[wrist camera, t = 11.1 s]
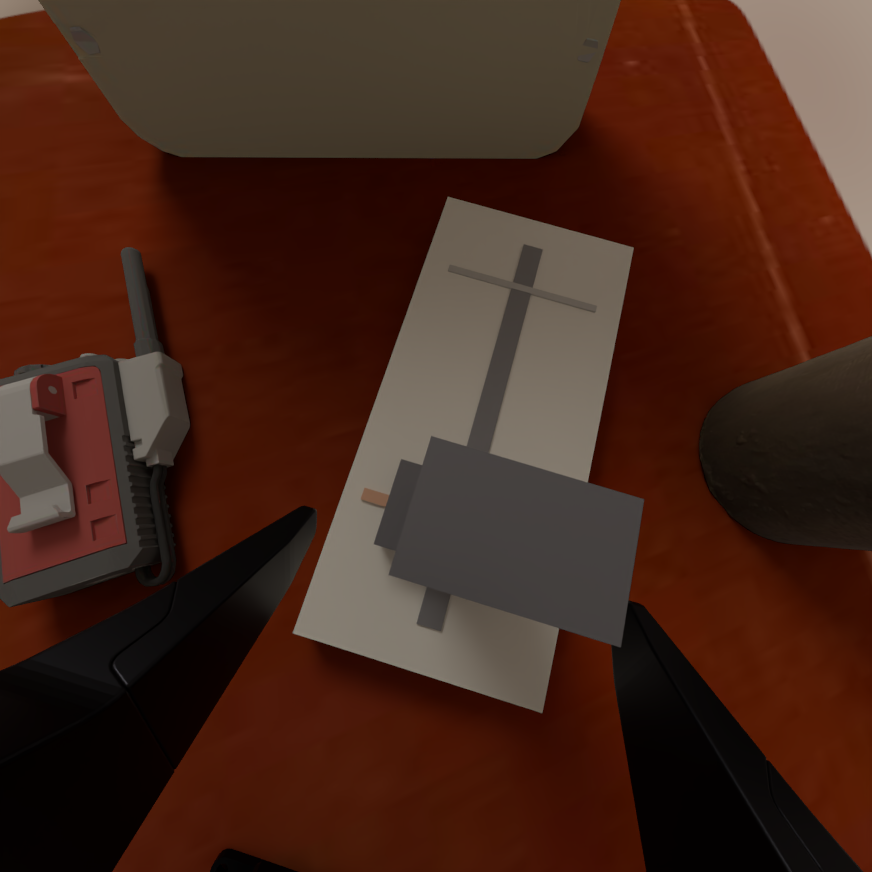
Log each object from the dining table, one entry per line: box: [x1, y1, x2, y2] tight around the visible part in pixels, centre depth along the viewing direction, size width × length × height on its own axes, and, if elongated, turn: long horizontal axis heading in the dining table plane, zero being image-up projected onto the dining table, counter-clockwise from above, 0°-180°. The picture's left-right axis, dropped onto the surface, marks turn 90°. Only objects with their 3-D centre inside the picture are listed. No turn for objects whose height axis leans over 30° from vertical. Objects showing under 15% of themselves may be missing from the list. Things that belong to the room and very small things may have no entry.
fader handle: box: [374, 436, 644, 647], centre depth 12 cm, size 4×7×12 cm, turn 73°
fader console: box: [293, 197, 634, 713], centre depth 20 cm, size 26×12×2 cm, turn 163°
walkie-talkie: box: [0, 247, 190, 607], centre depth 18 cm, size 9×4×20 cm
